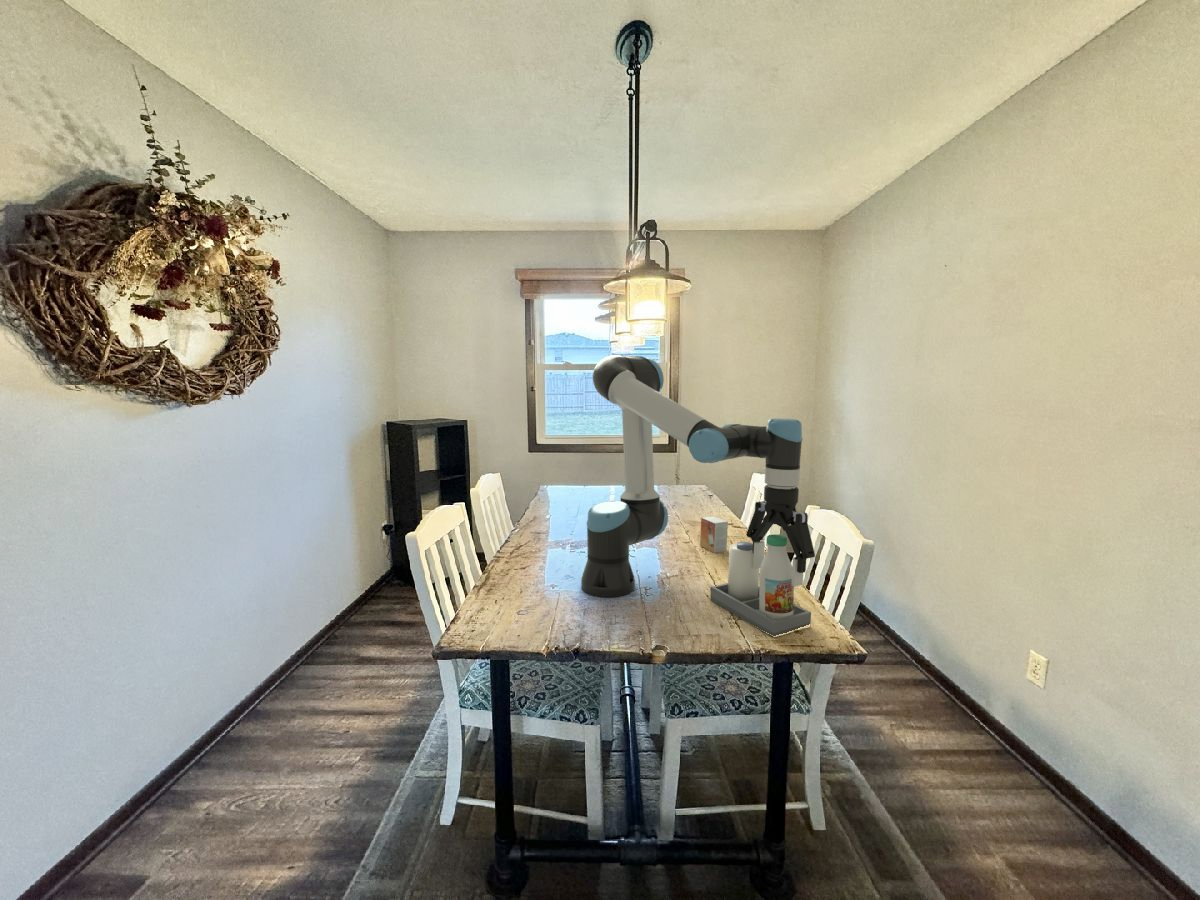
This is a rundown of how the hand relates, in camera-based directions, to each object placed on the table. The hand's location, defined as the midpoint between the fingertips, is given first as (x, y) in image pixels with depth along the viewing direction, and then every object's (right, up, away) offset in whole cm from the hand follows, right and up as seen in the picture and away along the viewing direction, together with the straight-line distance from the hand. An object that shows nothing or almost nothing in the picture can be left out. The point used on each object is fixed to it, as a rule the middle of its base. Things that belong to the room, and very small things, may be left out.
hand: (776, 576), depth 119 cm
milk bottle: (0, -10, +1) cm, 10 cm away
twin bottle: (-5, -9, +11) cm, 15 cm away
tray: (-2, -11, +7) cm, 13 cm away
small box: (-2, -5, +56) cm, 56 cm away
